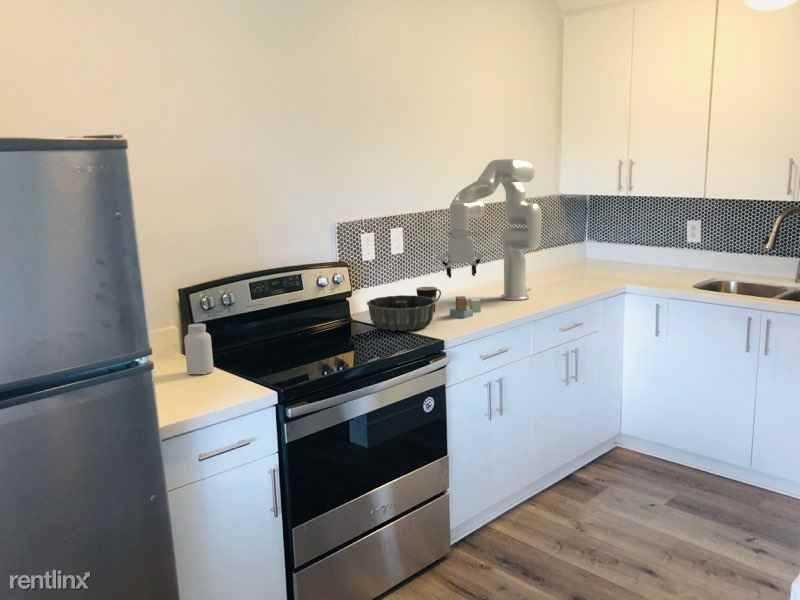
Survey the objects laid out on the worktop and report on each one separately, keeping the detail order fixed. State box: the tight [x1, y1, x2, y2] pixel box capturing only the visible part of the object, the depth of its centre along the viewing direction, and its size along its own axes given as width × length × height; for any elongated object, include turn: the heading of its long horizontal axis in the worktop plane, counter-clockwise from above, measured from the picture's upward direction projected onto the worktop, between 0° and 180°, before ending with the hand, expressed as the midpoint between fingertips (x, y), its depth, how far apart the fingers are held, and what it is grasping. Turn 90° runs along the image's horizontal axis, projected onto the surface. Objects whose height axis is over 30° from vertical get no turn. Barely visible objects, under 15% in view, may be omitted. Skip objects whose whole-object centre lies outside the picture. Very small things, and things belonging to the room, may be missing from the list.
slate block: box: [449, 307, 474, 319], centre depth 294 cm, size 8×5×3 cm, turn 42°
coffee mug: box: [415, 286, 442, 313], centre depth 304 cm, size 12×9×10 cm
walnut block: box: [455, 295, 468, 311], centre depth 293 cm, size 6×4×5 cm, turn 4°
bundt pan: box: [366, 294, 437, 332], centre depth 279 cm, size 26×26×10 cm
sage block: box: [468, 297, 482, 313], centre depth 303 cm, size 6×4×5 cm, turn 5°
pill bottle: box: [183, 323, 214, 374], centre depth 225 cm, size 8×8×15 cm
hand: (461, 276), depth 292 cm, fingers open, 9 cm apart
